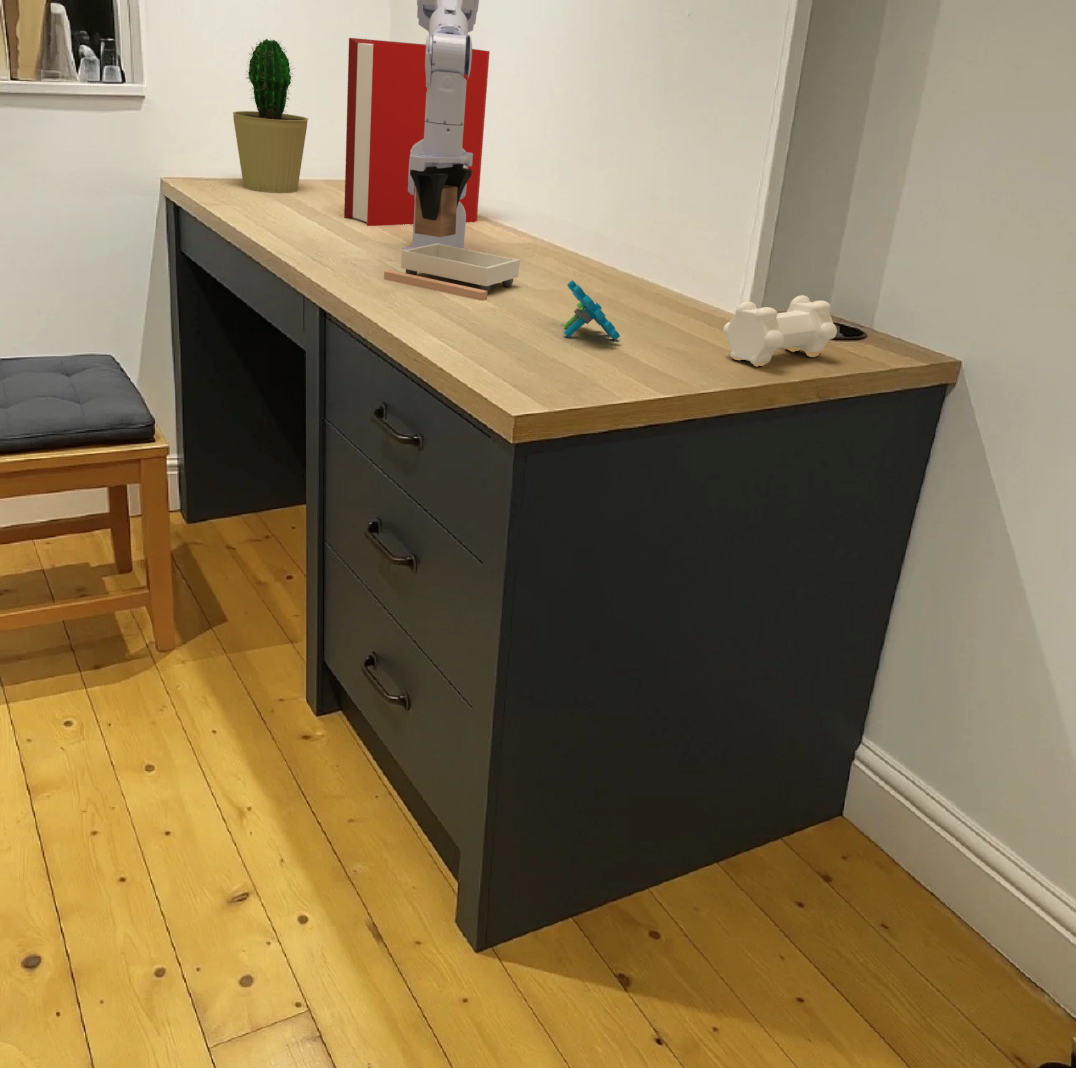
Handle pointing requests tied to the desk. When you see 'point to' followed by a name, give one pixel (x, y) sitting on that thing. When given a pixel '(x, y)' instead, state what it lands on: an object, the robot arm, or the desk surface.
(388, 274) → the thin flat board
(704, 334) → the desk surface
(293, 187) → the potted cactus
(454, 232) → the walnut block
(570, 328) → the gear
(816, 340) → the white bone
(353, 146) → the book
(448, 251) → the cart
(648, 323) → the desk surface
